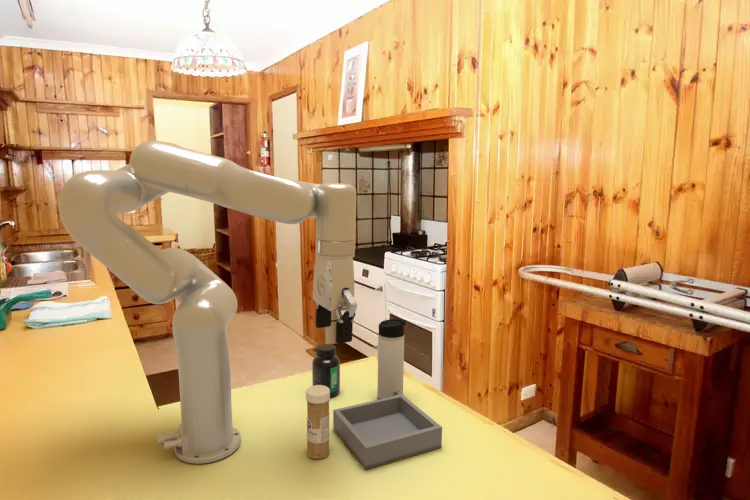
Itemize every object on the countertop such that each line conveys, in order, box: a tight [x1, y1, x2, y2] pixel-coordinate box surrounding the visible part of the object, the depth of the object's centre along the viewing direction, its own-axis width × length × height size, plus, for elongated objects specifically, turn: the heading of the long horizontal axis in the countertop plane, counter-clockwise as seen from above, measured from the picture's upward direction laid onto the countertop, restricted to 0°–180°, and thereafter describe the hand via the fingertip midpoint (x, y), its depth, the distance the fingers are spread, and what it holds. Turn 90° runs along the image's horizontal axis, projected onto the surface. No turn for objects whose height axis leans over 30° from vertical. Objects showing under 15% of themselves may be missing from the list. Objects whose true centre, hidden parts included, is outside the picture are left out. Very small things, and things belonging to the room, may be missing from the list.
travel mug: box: [377, 318, 407, 400], centre depth 116 cm, size 6×7×20 cm
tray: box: [332, 394, 443, 471], centre depth 100 cm, size 17×16×4 cm
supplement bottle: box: [311, 343, 341, 399], centre depth 120 cm, size 7×7×12 cm
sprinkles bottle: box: [305, 385, 331, 460], centre depth 93 cm, size 5×5×14 cm
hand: (333, 334), depth 95 cm, fingers open, 9 cm apart
